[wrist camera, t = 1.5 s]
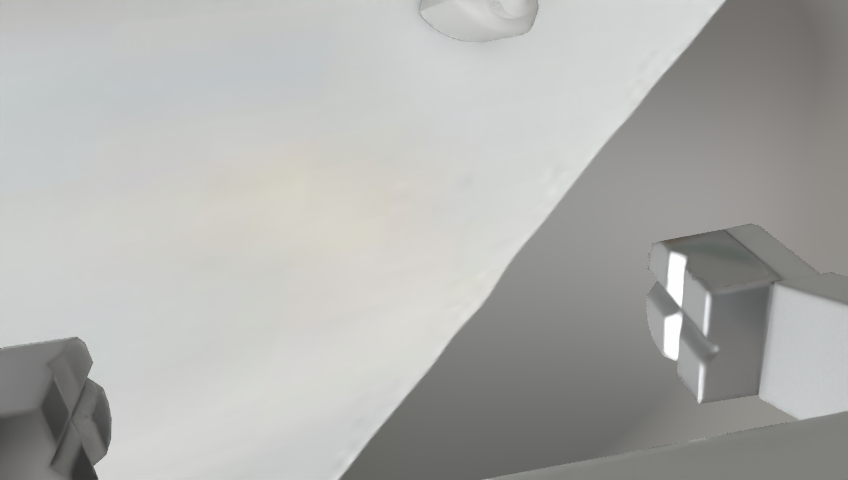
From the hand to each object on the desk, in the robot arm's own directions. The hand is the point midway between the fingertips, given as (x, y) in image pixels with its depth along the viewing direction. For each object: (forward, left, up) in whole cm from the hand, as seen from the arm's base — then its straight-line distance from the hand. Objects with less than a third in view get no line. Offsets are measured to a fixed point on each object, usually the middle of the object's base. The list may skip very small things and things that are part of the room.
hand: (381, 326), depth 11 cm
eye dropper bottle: (-1, +18, -41) cm, 45 cm away
